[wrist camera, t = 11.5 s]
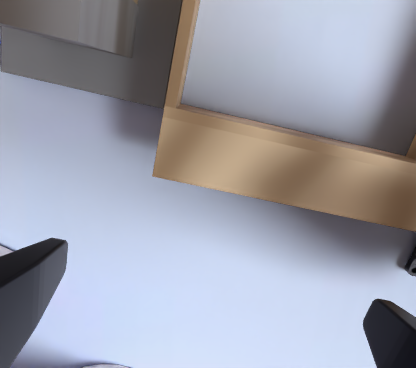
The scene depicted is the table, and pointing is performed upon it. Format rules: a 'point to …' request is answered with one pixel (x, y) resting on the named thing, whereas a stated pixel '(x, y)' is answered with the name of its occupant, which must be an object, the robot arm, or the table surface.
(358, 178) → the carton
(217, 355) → the table surface
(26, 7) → the box
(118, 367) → the decorative container
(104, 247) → the table surface
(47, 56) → the mat
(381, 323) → the robot arm
